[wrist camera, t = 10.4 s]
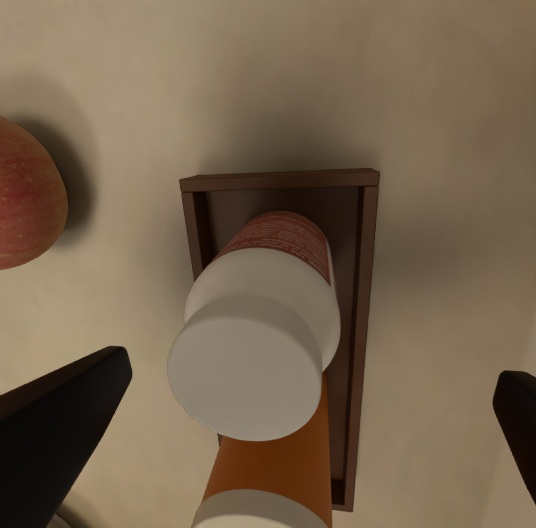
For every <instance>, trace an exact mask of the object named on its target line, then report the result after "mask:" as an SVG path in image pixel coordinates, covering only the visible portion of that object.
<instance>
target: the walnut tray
mask: <svg viewBox="0 0 536 528" xmlns="http://www.w3.org/2000/svg"><path fill="white" fill-rule="evenodd" d="M379 176H380V172H379V171H377V170H374V169H372V168H359V169H335V170H312V171H288V172H264V173H240V174H217V175H196V176H192V177H188V178H183V179H180V180H179V182H180V189H181V192H182V193H181V195H182V202H183V209H184V215H185V222H186V229H187V235H188V242H189V248H190V255H191V262H192V268H193V275H194V282H195V281H196V280H197V278H198V277H199V276H200V274H201V273H202V272H203V270H204V269H205V268H206V267H207V266H208V265H209V264H210V263H211V261H212V260H213V259H214V258H215V257H216V256H217V255H218V254H219V253H220V252H221V251H222V249H223V248H224V247H225V246H226V245H227V244H228V243H229V242H230V241H231V240H232V238H233V237H234V236H235V235H236V234H237V233H238V232H239V231H240V230H241V228H242V227H243V226H244V225H245V224H246V223H248V222H249V221H250V220H252V219H253V218H255V217H257V216H258V215H261V214H263V213H267V212H271V211H289V212H293V213H297V214H299V215H302V216H304V217H305V218H307V219H309V220H310V221H311V222H313V223H314V224H315V225H316V226H317V227H318V228H319V229H320V230H321V231H322V233H323V234H324V236H325V237H326V239H327V241H328V244H329V247H330V250H331V255H332V261H333V268H334V275H335V283H336V290H337V298H338V305H339V311H340V328H341V331H340V339H339V344H338V347H337V350H336V352H335V355H334V357H333V359H332V360H331V362H330V363H329V365H328V366H327V368H326V369H325V370H326V375H327V398H328V425H329V451H330V478H331V505H332V510H338V511H346V512H353V505H354V492H355V479H356V467H357V454H358V441H359V429H360V416H361V404H362V391H363V378H364V366H365V353H366V341H367V328H368V315H369V303H370V290H371V278H372V265H373V252H374V240H375V227H376V214H377V202H378V189H379V187H378V185H379ZM217 434H218V441H219V447H220V445H221V442H222V439H223V436H224V435H221V434H219V433H217Z"/></svg>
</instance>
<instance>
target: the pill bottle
mask: <svg viewBox="0 0 536 528" xmlns="http://www.w3.org/2000/svg"><path fill="white" fill-rule="evenodd" d="M184 325H185V326H184V328H183V329H182V331H181V332H180V333H179V335H178V336H177V338H176V339H175V341H174V342H173V345H172V347H171V349H170V352H169V355H168V360H167V376H168V381H169V384H170V387H171V390H172V392H173V394H174V396H175V398H176V400H177V401H178V403H179V404H180V405H181V406H182V408H183V409H184V410H185V411H186V412H187V413H188V414H189V415H190V416H191V417H192V418H193V419H195V420H196V421H197V422H199V423H200V424H202V425H203V426H205V427H206V428H208V429H210V430H212V431H214V432H217V433H219V434H221V435H224V436H227V437H230V438H234V439H238V440H246V441H267V440H274V439H278V438H282V437H284V436H287V435H289V434H291V433H293V432H295V431H297V430H298V429H300V428H301V427H302V426H304V425H305V424H306V423H307V422H308V421H309V420H310V418H311V417H312V416H313V414H314V413H315V411H316V409H317V407H318V404H319V400H320V397H321V386H322V372H323V371H324V370H325V369H326V368H327V366H328V365H329V363H330V362H331V360H332V359H333V357H334V355H335V352H336V350H337V347H338V344H339V339H340V331H341V328H340V311H339V305H338V298H337V290H336V283H335V275H334V268H333V261H332V255H331V250H330V247H329V244H328V241H327V239H326V237H325V236H324V234H323V233H322V231H321V230H320V229H319V228H318V227H317V226H316V225H315V224H314V223H313V222H311V221H310V220H309V219H307V218H305V217H304V216H302V215H299V214H297V213H293V212H289V211H271V212H267V213H263V214H261V215H258V216H257V217H255V218H253V219H252V220H250V221H249V222H248V223H246V224H245V225H244V226H243V227H242V228H241V230H240V231H239V232H238V233H237V234H236V235H235V236H234V237H233V238H232V240H231V241H230V242H229V243H228V244H227V245H226V246H225V247H224V248H223V249H222V251H221V252H220V253H219V254H218V255H217V256H216V257H215V258H214V259H213V260H212V261H211V263H210V264H209V265H208V266H207V267H206V268H205V269H204V270H203V272H202V273H201V274H200V276H199V277H198V278H197V280H196V281H195V283H194V284H193V286H192V288H191V290H190V292H189V294H188V297H187V300H186V304H185V310H184Z"/></svg>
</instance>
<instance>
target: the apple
mask: <svg viewBox="0 0 536 528" xmlns="http://www.w3.org/2000/svg"><path fill="white" fill-rule="evenodd" d="M67 215H68V199H67V193H66V189H65V186H64V183H63V180H62V178H61V176H60V173H59V171H58V169H57V167H56V165H55V163H54V161H53V160H52V158H51V156H50V154H49V153H48V152H47V150H46V149H45V148H44V147H43V146H42V144H41V143H40V142H39V141H38V140H37V139H36V138H34V137H33V136H32V135H31V134H30V133H29V132H27V131H26V130H25V129H23V128H22V127H20V126H19V125H17V124H15V123H13V122H12V121H10V120H8V119H6V118H4V117H1V116H0V270H3V269H9V268H13V267H16V266H20V265H22V264H25V263H27V262H29V261H31V260H33V259H35V258H37V257H39V256H40V255H42V254H43V253H44V252H46V251H47V250H48V249H49V248H50V247H51V246H52V245H53V244H54V242H55V241H56V240H57V239H58V237H59V236H60V234H61V232H62V231H63V229H64V226H65V223H66V220H67Z"/></svg>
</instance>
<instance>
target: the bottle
mask: <svg viewBox="0 0 536 528" xmlns="http://www.w3.org/2000/svg"><path fill="white" fill-rule="evenodd" d="M191 528H332V505H331V478H330V451H329V425H328V398H327V375H326V370H324V371H323V372H322V386H321V397H320V400H319V404H318V407H317V409H316V411H315V413H314V414H313V416H312V417H311V418H310V420H309V421H308V422H307V423H306V424H305V425H304V426H302V427H301V428H300V429H298V430H297V431H295V432H293V433H291V434H289V435H287V436H284V437H282V438H278V439H274V440H267V441H246V440H238V439H234V438H230V437H227V436H223V439H222V442H221V445H220V448H219V451H218V454H217V457H216V460H215V463H214V466H213V469H212V472H211V475H210V478H209V481H208V484H207V487H206V490H205V493H204V496H203V499H202V502H201V505H200V506H199V508H198V509H197V511H196V514H195V516H194V519H193V522H192V525H191Z"/></svg>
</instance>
